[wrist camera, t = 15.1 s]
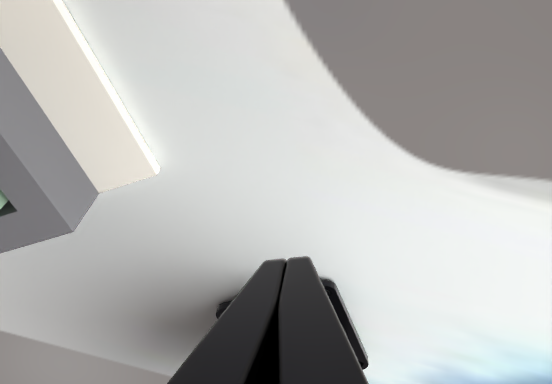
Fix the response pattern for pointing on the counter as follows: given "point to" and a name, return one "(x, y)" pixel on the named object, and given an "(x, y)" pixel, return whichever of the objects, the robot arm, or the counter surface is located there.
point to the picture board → (57, 125)
